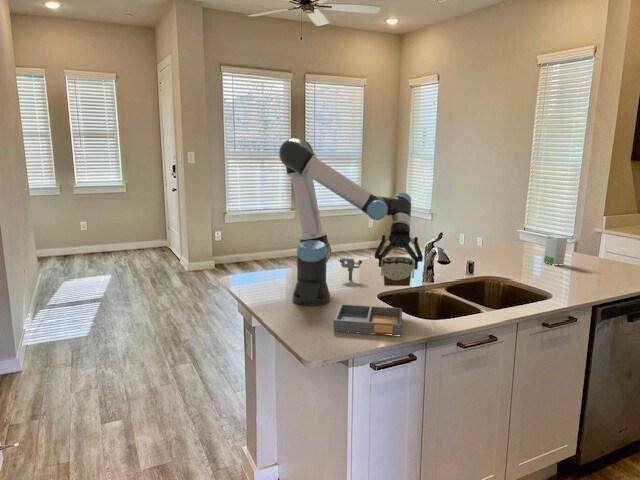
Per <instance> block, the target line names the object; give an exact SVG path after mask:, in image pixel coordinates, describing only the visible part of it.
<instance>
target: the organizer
mask: <svg viewBox="0 0 640 480" xmlns="http://www.w3.org/2000/svg"><path fill="white" fill-rule="evenodd" d="M402 320H403V308H400V307H387V306H378V305H377V306H376V305H362V304H361V305H360V304H351V303H350V304H347V303H340V304H339V307H338V309H337V312H336V314H335V316H334V319H333V332H338V331H345V332H344V333H350V332H359V333H358V334H362V333H375V334H392V335H401V336H402V327H403V326H402V325H403V324H402V323H403V321H402ZM346 331H347V332H346ZM348 331H349V332H348Z"/></svg>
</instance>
